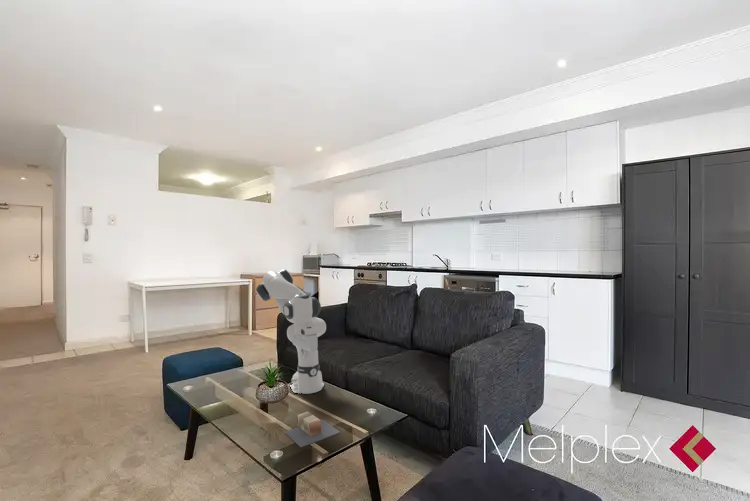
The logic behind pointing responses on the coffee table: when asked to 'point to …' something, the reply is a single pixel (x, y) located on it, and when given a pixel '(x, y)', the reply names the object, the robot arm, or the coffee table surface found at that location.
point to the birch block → (309, 423)
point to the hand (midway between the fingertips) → (304, 357)
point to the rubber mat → (305, 439)
